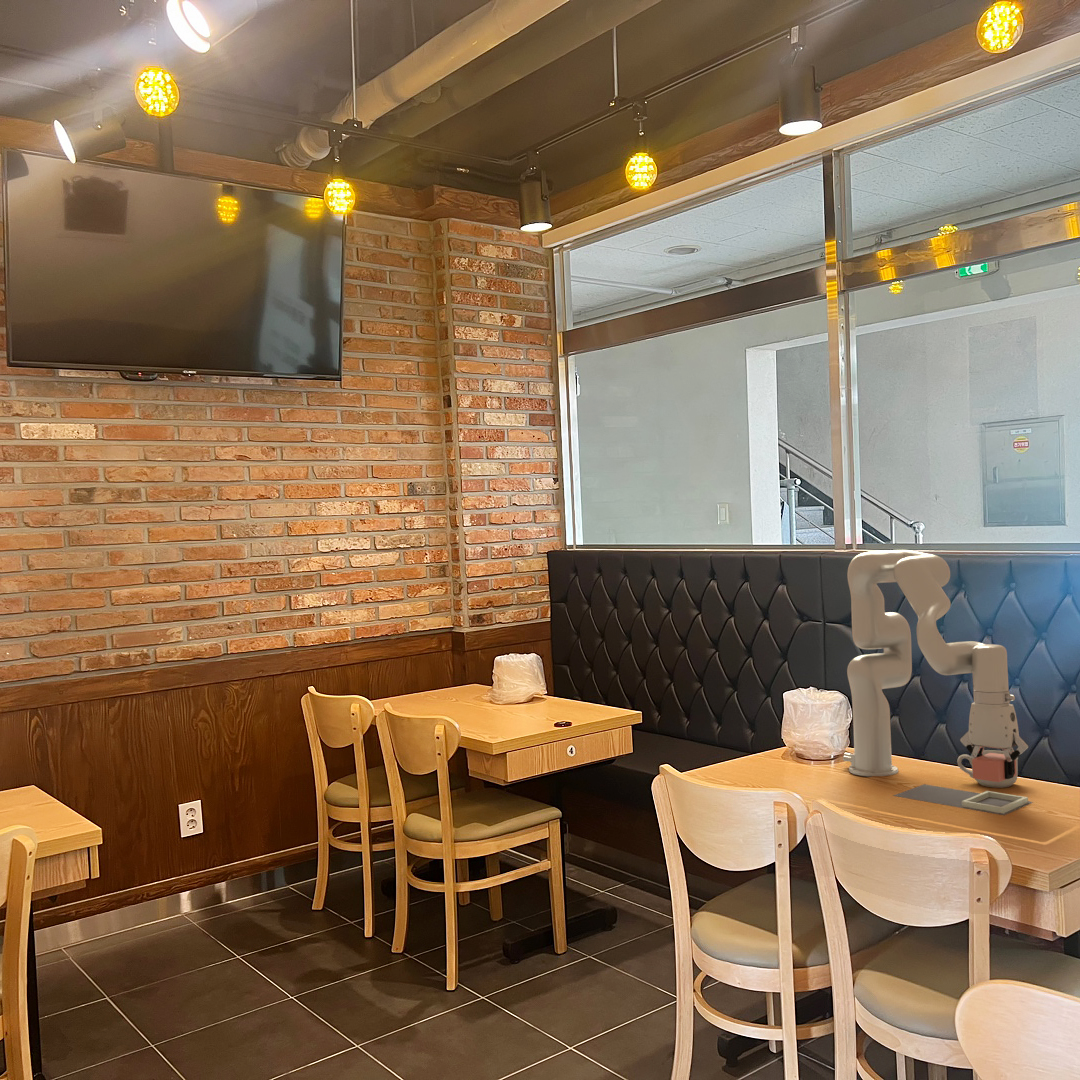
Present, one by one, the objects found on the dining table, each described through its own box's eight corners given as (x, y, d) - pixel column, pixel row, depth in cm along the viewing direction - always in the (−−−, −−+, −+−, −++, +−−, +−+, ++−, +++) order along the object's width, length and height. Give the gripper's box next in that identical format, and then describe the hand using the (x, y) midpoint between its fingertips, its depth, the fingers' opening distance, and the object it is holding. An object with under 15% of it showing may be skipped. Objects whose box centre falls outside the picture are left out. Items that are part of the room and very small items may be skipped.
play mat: (893, 797, 249) (893, 795, 249) (924, 786, 259) (924, 784, 259) (1004, 817, 229) (1004, 815, 229) (1033, 804, 239) (1033, 802, 239)
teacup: (1022, 783, 258) (1021, 752, 258) (1015, 793, 249) (1014, 760, 249) (963, 778, 266) (962, 747, 266) (954, 787, 257) (953, 755, 257)
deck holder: (962, 806, 237) (961, 801, 237) (987, 795, 246) (987, 790, 246) (1003, 813, 230) (1003, 808, 230) (1028, 802, 238) (1027, 797, 238)
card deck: (991, 771, 243) (990, 752, 243) (1016, 775, 238) (1015, 755, 238) (973, 778, 237) (972, 759, 237) (998, 782, 232) (997, 762, 233)
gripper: (1036, 699, 234) (1040, 778, 234) (963, 693, 247) (966, 768, 247) (1021, 703, 229) (1025, 784, 229) (947, 697, 242) (951, 773, 242)
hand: (994, 775), depth 238 cm, fingers closed on card deck, 6 cm apart
